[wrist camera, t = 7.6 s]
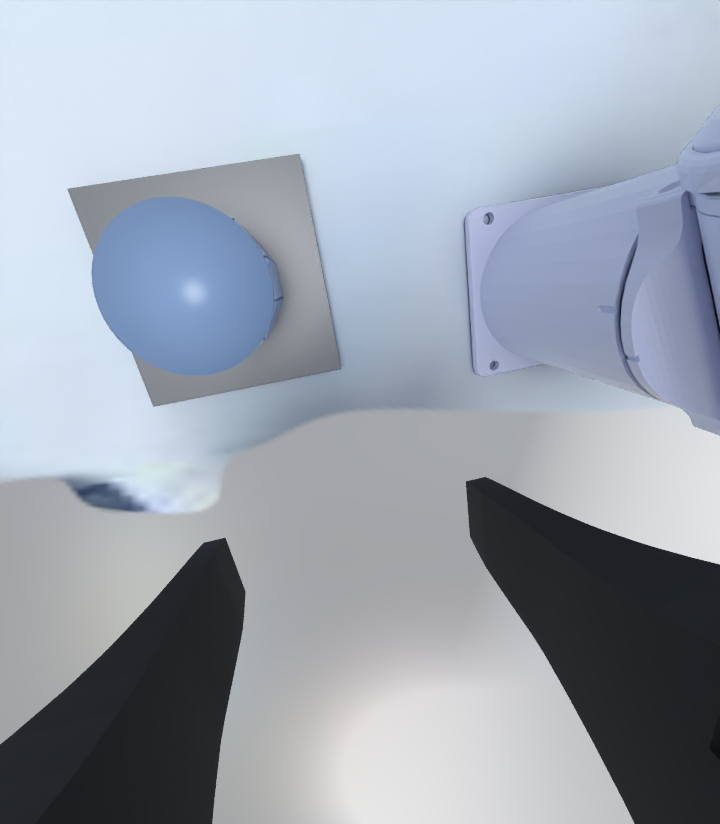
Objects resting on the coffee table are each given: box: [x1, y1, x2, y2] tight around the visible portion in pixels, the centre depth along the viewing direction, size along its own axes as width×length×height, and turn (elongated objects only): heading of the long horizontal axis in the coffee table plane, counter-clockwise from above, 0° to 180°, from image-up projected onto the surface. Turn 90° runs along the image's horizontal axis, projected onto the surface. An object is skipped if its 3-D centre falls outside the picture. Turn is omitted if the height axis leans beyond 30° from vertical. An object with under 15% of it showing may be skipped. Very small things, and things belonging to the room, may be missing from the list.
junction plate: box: [68, 154, 341, 407], centre depth 15 cm, size 9×9×4 cm
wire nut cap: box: [92, 196, 283, 375], centre depth 13 cm, size 5×5×5 cm
